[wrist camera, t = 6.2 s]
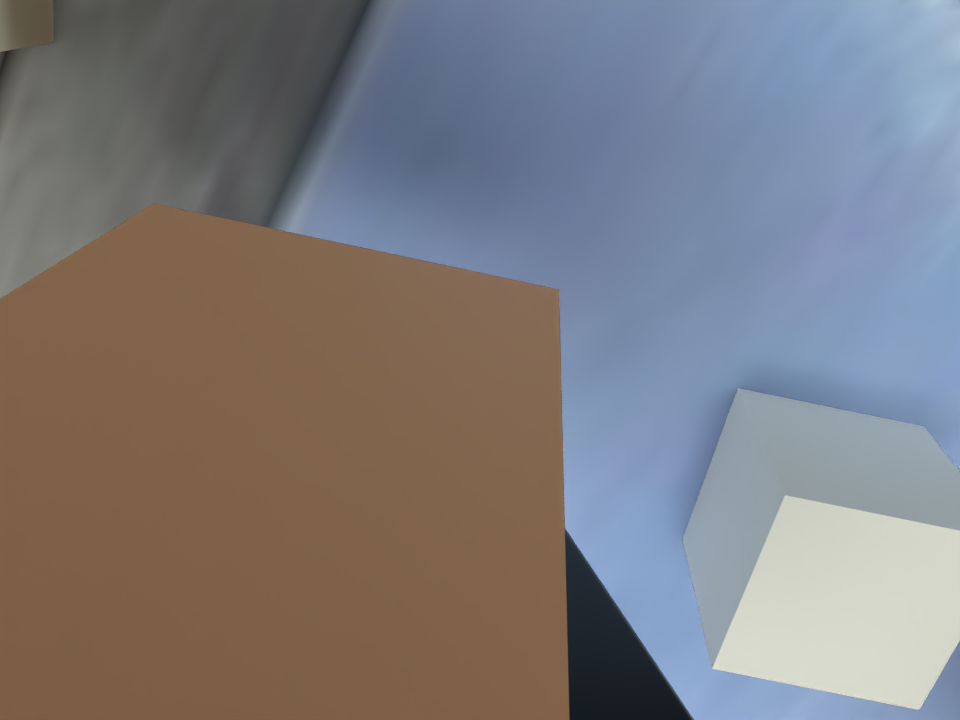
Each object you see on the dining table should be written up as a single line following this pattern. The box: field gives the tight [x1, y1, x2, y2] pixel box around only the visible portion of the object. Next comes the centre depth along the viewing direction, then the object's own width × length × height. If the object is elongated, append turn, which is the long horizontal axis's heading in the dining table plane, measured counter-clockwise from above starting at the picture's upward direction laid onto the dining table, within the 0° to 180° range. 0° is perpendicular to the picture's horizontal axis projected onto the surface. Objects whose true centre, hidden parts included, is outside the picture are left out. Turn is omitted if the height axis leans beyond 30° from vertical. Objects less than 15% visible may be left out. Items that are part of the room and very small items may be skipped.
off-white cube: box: [682, 388, 960, 710], centre depth 21 cm, size 5×5×5 cm
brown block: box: [0, 204, 569, 720], centre depth 7 cm, size 4×4×7 cm
